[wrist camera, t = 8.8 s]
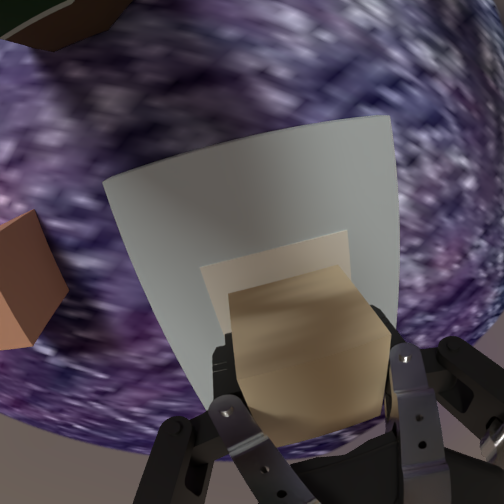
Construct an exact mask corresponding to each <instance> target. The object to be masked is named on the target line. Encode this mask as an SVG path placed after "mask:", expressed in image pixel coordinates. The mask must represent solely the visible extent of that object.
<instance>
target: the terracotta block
mask: <svg viewBox="0 0 504 504" xmlns="http://www.w3.org/2000/svg"><path fill="white" fill-rule="evenodd" d="M68 292H69V289H68V287H67V285H66V283H65V281H64V279H63V277H62V274H61V272H60V270H59V268H58V266H57V264H56V262H55V259H54V257H53V255H52V253H51V250H50V248H49V246H48V243H47V241H46V238H45V236H44V233H43V231H42V228H41V226H40V223H39V220H38V218H37V215H36V212H35V210H34V209H33V210H31V211H29V212H27V213H25V214H23V215H20V216H18V217H16V218H14V219H12V220H10V221H8V222H6V223H4V224H2V225H0V350H8V349H16V348H24V347H31V346H33V345H34V344H35V342H36V340H37V339H38V337H39V336H40V334H41V332H42V331H43V329H44V328H45V326H46V324H47V323H48V321H49V320H50V318H51V317H52V315H53V314H54V312H55V311H56V309H57V308H58V306H59V305H60V303H61V302H62V300H63V299H64V298H65V296H66V295H67V293H68Z"/></svg>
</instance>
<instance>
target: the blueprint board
mask: <svg viewBox="0 0 504 504" xmlns="http://www.w3.org/2000/svg"><path fill="white" fill-rule="evenodd" d="M102 183H103V186H104V189H105V192H106V195H107V198H108V201H109V204H110V207H111V209H112V212H113V215H114V218H115V221H116V223H117V226H118V229H119V231H120V234H121V237H122V239H123V242H124V244H125V247H126V249H127V252H128V254H129V257H130V259H131V262H132V264H133V266H134V269H135V271H136V274H137V276H138V278H139V280H140V283H141V285H142V287H143V290H144V292H145V294H146V296H147V298H148V301H149V303H150V305H151V307H152V309H153V311H154V313H155V316H156V318H157V320H158V322H159V324H160V326H161V328H162V330H163V332H164V334H165V336H166V338H167V340H168V342H169V344H170V346H171V348H172V350H173V352H174V354H175V355H176V357H177V359H178V361H179V363H180V365H181V367H182V369H183V370H184V372H185V374H186V376H187V378H188V379H189V381H190V383H191V385H192V386H193V388H194V390H195V392H196V393H197V395H198V397H199V399H200V400H201V402H202V404H203V405H204V407H205V409H206V410H208V408H209V406H210V404H211V402H212V401H213V371H212V366H213V365H212V355H213V353H214V351H215V349H216V347H219V346H223V345H225V334H226V333H231V332H232V330H231V320H230V310H229V300H228V293H232V292H236V291H240V290H244V289H248V288H252V287H256V286H260V285H264V284H268V283H272V282H275V281H279V280H283V279H287V278H291V277H294V276H298V275H302V274H305V273H309V272H313V271H316V270H320V269H324V268H327V267H331V266H334V265H339V266H340V268H341V269H342V270H343V271H344V273H345V274H346V275H347V276H348V278H349V279H350V280H351V282H352V283H353V284H354V285H355V287H356V288H357V289H358V291H359V292H360V293H361V294H362V296H363V297H364V298H365V300H366V301H367V302H368V304H369V305H374V306H375V307H377V308H379V309H381V311H382V312H383V313H384V314H385V316H386V317H387V318H388V320H389V321H390V323H392V325H393V326H394V327H395V329H396V321H397V308H398V292H399V264H400V228H399V201H398V184H397V172H396V161H395V151H394V143H393V135H392V127H391V120H390V116H386V115H374V116H365V117H356V118H348V119H341V120H334V121H327V122H320V123H314V124H308V125H302V126H297V127H291V128H286V129H281V130H276V131H271V132H266V133H261V134H256V135H252V136H247V137H243V138H239V139H235V140H230V141H226V142H222V143H218V144H215V145H211V146H207V147H203V148H200V149H196V150H192V151H189V152H185V153H182V154H178V155H175V156H172V157H168V158H165V159H162V160H159V161H156V162H152V163H149V164H146V165H143V166H140V167H137V168H134V169H131V170H129V171H126V172H123V173H120V174H117V175H115V176H112V177H110V178H108V179H106V180H105V181H103V182H102Z"/></svg>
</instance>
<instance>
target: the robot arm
mask: <svg viewBox="0 0 504 504" xmlns="http://www.w3.org/2000/svg"><path fill="white" fill-rule="evenodd" d="M370 306H371V307H372V309H373V310H374V311H375V313H376V314H377V315H378V317H379V318H380V319H381V321H382V322H383V323H384V325H385V326H386V328H387V329H388V330H389V332H390V333H391V343H390V353H389V361H388V369H387V377H386V384H385V390H384V405H385V422H386V432H385V434H383V435H381V436H378V437H376V438H373V439H370V440H368V441H367V442H365V443H364V444H362V445H360V446H359V447H357V448H356V449H354V450H352V451H351V452H349V453H347V454H345V455H341V456H330V457H316V458H313V459H309V460H305V461H302V462H298V463H293V464H291V465H289V464H288V463H287V461H286V460H285V459H284V457H283V456H282V455H281V453H280V452H279V451H278V449H277V448H276V447H275V445H274V444H273V443H272V441H271V440H270V438H269V437H268V436H267V435H266V434H264V433H263V432H262V430H261V429H260V427H259V426H258V424H257V423H256V422H255V420H254V419H253V416H252V414H251V412H250V410H249V407H248V405H247V403H246V400H245V398H244V396H243V393H242V391H241V389H240V386H239V384H238V382H237V377H236V368H235V359H234V350H233V340H232V332H231V333H226V334H225V345H223V346H219V347H216V349H215V351H214V353H213V355H212V365H213V366H212V371H213V401H212V402H211V404H210V406H209V408H208V410H207V411H206V412H205V413H203V414H201V415H199V416H197V417H195V418H193V419H190V420H188V419H187V418H185V417H182V416H174V417H171V418H169V419H167V420H165V421H164V422H163V423H162V425H161V426H160V428H159V431H158V434H157V437H156V439H155V442H154V445H153V448H152V450H151V453H150V456H149V459H148V462H147V464H146V467H145V470H144V473H143V475H142V478H141V481H140V484H139V487H138V490H137V493H136V496H135V498H134V501H133V504H204V503H205V498H206V494H207V490H208V485H209V481H210V477H211V472H212V468H213V464H214V460H216V459H219V458H221V457H223V456H225V455H227V454H230V456H231V458H232V460H233V461H234V463H235V465H236V466H237V468H238V470H239V472H240V473H241V475H242V476H243V478H244V480H245V481H246V483H247V485H248V486H249V488H250V489H251V491H252V492H253V494H254V496H255V497H256V499H257V500H258V502H259V503H258V504H504V369H503V368H502V367H500V366H499V365H498V364H496V363H495V362H493V361H492V360H491V359H489V358H488V357H487V356H485V355H484V354H482V353H481V352H480V351H478V350H477V349H475V348H474V347H473V346H471V345H470V344H468V343H467V342H466V341H464V340H463V339H461V338H459V337H456V336H448V337H445V338H443V339H442V340H441V341H440V342H439V345H438V347H435V348H429V349H419V348H418V347H417V346H416V345H414V344H411V343H406V342H405V341H404V339H403V338H402V337H401V335H400V334H399V333H398V331H397V330H396V329H395V327H394V326H393V325H392V323H390V321H389V320H388V318H387V317H386V316H385V314H384V313H383V312H382V311H381V309H379V308H377V307H375V306H374V305H370ZM436 400H437V401H438V402H439V403H440V404H441V405H442V406H443V407H444V408H446V409H447V410H448V411H449V412H450V413H451V414H452V415H453V416H454V417H456V418H457V419H458V420H459V421H460V422H461V423H462V424H463V425H464V426H465V427H467V428H468V429H469V430H470V431H471V432H472V433H473V434H474V435H475V436H477V437H478V438H479V439H480V449H481V454H482V456H483V457H486V461H487V462H485V461H482V460H479V459H476V458H473V457H470V456H467V455H464V454H462V453H459V452H456V451H454V450H451V449H448V448H446V447H444V445H443V437H442V430H441V424H440V418H439V412H438V407H437V401H436ZM290 466H291V467H290Z"/></svg>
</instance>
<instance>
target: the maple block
mask: <svg viewBox="0 0 504 504" xmlns="http://www.w3.org/2000/svg"><path fill="white" fill-rule="evenodd" d="M228 300H229V310H230V320H231V330H232V340H233V350H234V359H235V368H236V377H237V382H238V384H239V386H240V389H241V391H242V393H243V396H244V398H245V400H246V403H247V405H248V407H249V410H250V412H251V414H252V416H253V419H254V420H255V422H256V423H257V424H258V426H259V427H260V429H261V430H262V432H263V433H264V434H266V435H267V436H268V437H269V438H270V440H271V441H272V443H273V444H274V445H275V447H281V446H285V445H289V444H293V443H297V442H301V441H304V440H308V439H312V438H315V437H319V436H322V435H325V434H329V433H332V432H335V431H338V430H341V429H344V428H347V427H350V426H353V425H356V424H358V423H361V422H364V421H366V420H369V419H372V418H374V417H377V416H379V415H380V414H381V408H382V403H383V397H384V390H385V384H386V377H387V369H388V361H389V353H390V343H391V333H390V332H389V330H388V329H387V328H386V326H385V325H384V323H383V322H382V321H381V319H380V318H379V317H378V315H377V314H376V313H375V311H374V310H373V309H372V307H371V306H370V305H369V304H368V302H367V301H366V300H365V298H364V297H363V296H362V294H361V293H360V292H359V291H358V289H357V288H356V287H355V285H354V284H353V283H352V282H351V280H350V279H349V278H348V276H347V275H346V274H345V273H344V271H343V270H342V269H341V268H340V266H339V265H334V266H331V267H327V268H324V269H320V270H316V271H313V272H309V273H305V274H302V275H298V276H294V277H291V278H287V279H283V280H279V281H275V282H272V283H268V284H264V285H260V286H256V287H252V288H248V289H244V290H240V291H236V292H232V293H228Z"/></svg>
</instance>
